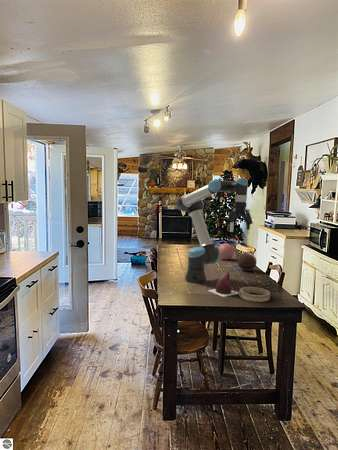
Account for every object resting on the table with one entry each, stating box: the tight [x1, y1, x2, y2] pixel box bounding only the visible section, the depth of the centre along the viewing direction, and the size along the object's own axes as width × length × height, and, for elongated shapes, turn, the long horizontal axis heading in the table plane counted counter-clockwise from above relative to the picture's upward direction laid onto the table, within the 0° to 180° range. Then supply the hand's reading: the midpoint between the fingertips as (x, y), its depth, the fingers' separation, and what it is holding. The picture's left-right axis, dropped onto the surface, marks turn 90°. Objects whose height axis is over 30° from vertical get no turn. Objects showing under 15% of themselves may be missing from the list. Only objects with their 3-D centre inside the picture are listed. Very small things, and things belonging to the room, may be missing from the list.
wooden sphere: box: [237, 252, 257, 272], centre depth 277 cm, size 15×15×15 cm
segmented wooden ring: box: [238, 286, 271, 303], centre depth 209 cm, size 18×18×4 cm
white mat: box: [207, 288, 239, 298], centre depth 216 cm, size 14×14×1 cm
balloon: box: [217, 242, 239, 261], centre depth 319 cm, size 15×20×15 cm
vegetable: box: [215, 271, 232, 294], centre depth 215 cm, size 10×10×15 cm
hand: (238, 233), depth 227 cm, fingers open, 13 cm apart
